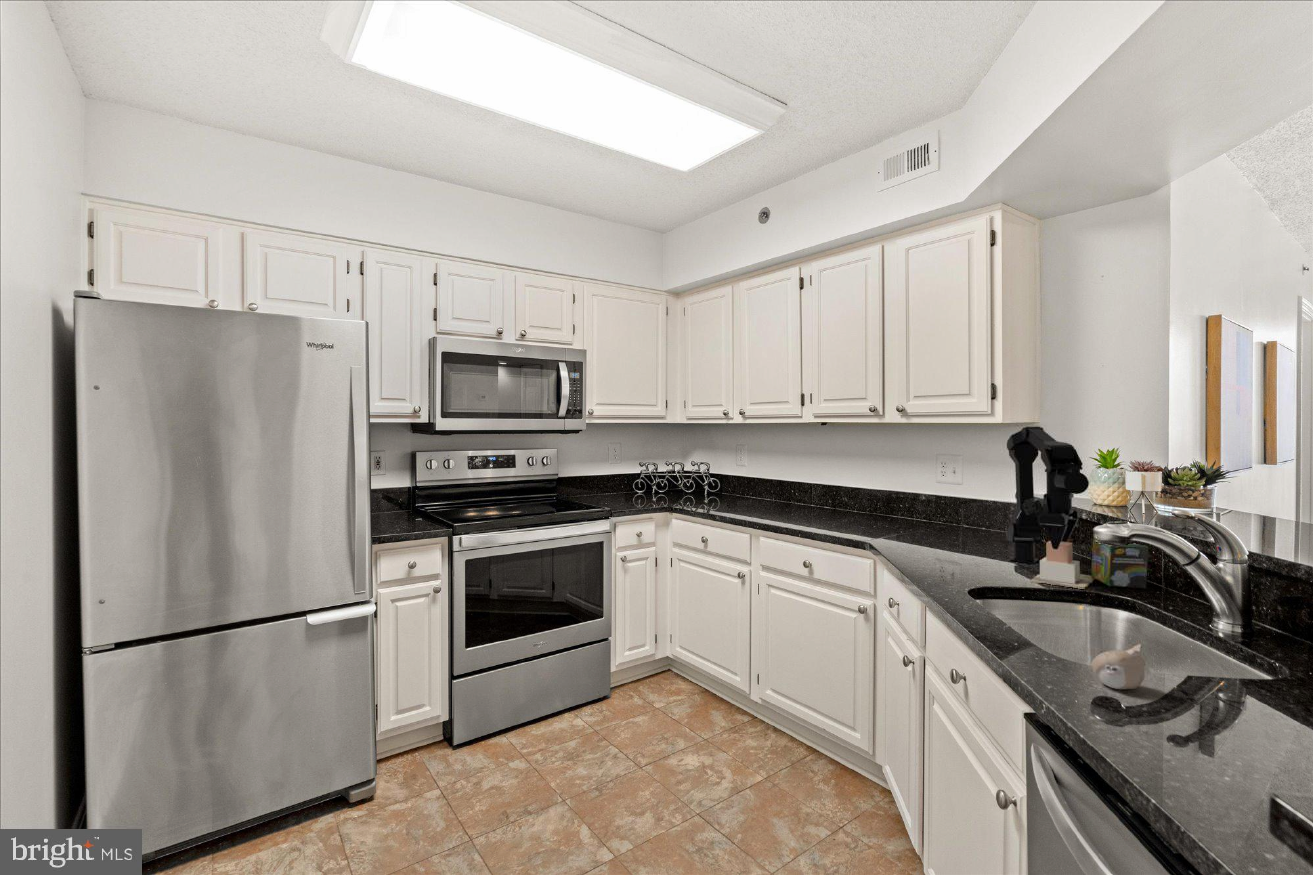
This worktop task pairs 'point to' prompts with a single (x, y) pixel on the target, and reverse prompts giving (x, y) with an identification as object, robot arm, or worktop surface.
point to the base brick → (1060, 571)
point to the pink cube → (1059, 552)
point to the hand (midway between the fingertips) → (1059, 546)
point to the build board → (1080, 584)
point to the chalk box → (1120, 565)
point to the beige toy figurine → (1120, 668)
